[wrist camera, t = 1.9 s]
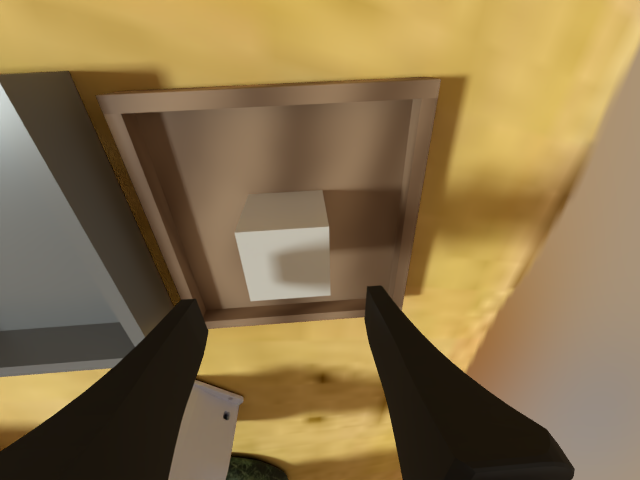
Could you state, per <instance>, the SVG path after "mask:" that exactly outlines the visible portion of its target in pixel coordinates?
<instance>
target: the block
mask: <svg viewBox="0 0 640 480" xmlns="http://www.w3.org/2000/svg"><path fill="white" fill-rule="evenodd" d="M235 237H236V241H237V246H238V250H239V254H240V258H241V262H242V267H243V271H244V275H245V279H246V284H247V288H248V292H249V296H250V301H261V300H275V299H288V298H302V297H316V296H329V295H331V291H330V247H329V224H328V218H327V213H326V207H325V202H324V196H323V191H322V190H314V191H298V192H281V193H264V194H249V195H248V197H247V200H246V203H245V205H244V208H243V211H242V214H241V216H240V219H239V222H238V224H237V227H236V230H235Z"/></svg>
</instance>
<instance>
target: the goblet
mask: <svg viewBox="0 0 640 480" xmlns="http://www.w3.org/2000/svg"><path fill="white" fill-rule="evenodd" d="M226 480H288V478H287V475H286V474H285V473H284V472H283V471H281V470H280V469H278V468H276V467H274V466H272V465H270V464H267V463H264V462H261V461H258V460H252V459H246V458H239V457H230V463H229V468H228V473H227V476H226Z"/></svg>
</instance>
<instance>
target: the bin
mask: <svg viewBox="0 0 640 480" xmlns="http://www.w3.org/2000/svg"><path fill="white" fill-rule="evenodd" d="M173 308H174V306H173V304H172V302H171V299H170V297H169V295H168V293H167V290H166V288H165V286H164V284H163V281H162V279H161V277H160V275H159V272H158V270H157V268H156V266H155V264H154V261H153V259H152V257H151V255H150V252H149V250H148V248H147V246H146V243H145V241H144V239H143V237H142V234H141V232H140V230H139V228H138V225H137V223H136V221H135V219H134V217H133V214H132V212H131V210H130V208H129V205H128V203H127V201H126V199H125V196H124V194H123V192H122V190H121V187H120V185H119V183H118V181H117V178H116V176H115V174H114V172H113V169H112V167H111V165H110V163H109V161H108V158H107V156H106V154H105V152H104V149H103V147H102V145H101V143H100V140H99V138H98V136H97V134H96V131H95V129H94V127H93V125H92V122H91V120H90V118H89V116H88V114H87V111H86V109H85V107H84V105H83V102H82V100H81V98H80V96H79V93H78V91H77V89H76V87H75V84H74V82H73V80H72V78H71V75H70V73H69V71H59V72H36V73H14V74H0V377H6V376H18V375H31V374H43V373H56V372H68V371H81V370H93V369H106V368H113V367H114V366H116V365H117V364H118V363H119V362H120V361H121V360H122V359H123V358H124V357H125V356H126V355H127V354H128V353H129V352H130V351H131V350H132V349H134V348H135V347H136V346H137V345H138V344H139V343H140V342H141V341H142V340H143V339H144V338H145V337H146V336H147V335H148V334H149V333H150V332H151V331H152V330H153V329H154V328H155V327H156V325H157V324H158V323H159V322H160V321H161V320H162V319H163V318H164V317H165V316H166V315H167V314H168V313H169V312H170V311H171V310H172V309H173Z"/></svg>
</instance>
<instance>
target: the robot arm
mask: <svg viewBox="0 0 640 480" xmlns="http://www.w3.org/2000/svg"><path fill="white" fill-rule="evenodd" d="M365 325H366V330H367V335H368V340H369V344H370V348H371V351H372V354H373V357H374V361H375V364H376V367H377V370H378V374H379V377H380V380H381V383H382V387H383V390H384V393H385V397H386V401H387V404H388V409H389V413H390V418H391V423H392V427H393V432H394V437H395V442H396V447H397V452H398V457H399V462H400V467H401V473H402V478H403V480H571V479H572V478H573V476H574V467H573V466H572V464H571V463H570V462H569V460H568V458H567V457H566V455H565V454H564V452H563V451H562V449H561V448H560V446H559V445H558V443H557V442H556V441H555V440H554V438H553V437H552V436H551V434H550V433H549V432H548V430H547V429H545V428H543V427H542V426H541V425H539V424H537V423H536V422H534V421H533V420H531V419H529V418H528V417H526V416H525V415H523V414H521V413H520V412H518V411H516V410H515V409H514V408H512V407H510V406H509V405H507V404H506V403H505V402H503V401H502V400H500V399H499V398H497V397H496V396H495V395H493V394H492V393H490V392H489V391H488V390H486V389H485V388H484V387H482V386H481V385H480V384H478V383H477V382H476V381H475V380H473V379H472V378H471V377H469V376H468V375H467V374H465V373H464V372H463V371H462V370H461V369H459V368H458V367H457V366H456V365H455V364H453V363H452V362H451V361H450V360H449V359H448V358H447V357H445V356H444V355H443V354H442V353H441V352H440V351H439V350H438V349H437V348H436V347H435V346H434V345H433V344H432V343H431V342H430V341H429V340H428V339H427V338H426V337H425V336H424V335H423V334H422V333H421V332H420V331H419V330H418V329H417V328H416V327H415V326H414V325H413V323H412V322H411V321H410V320H409V319H408V318H407V317H406V315H405V314H404V313H403V312H402V311H401V310H400V308H399V307H398V306H397V305H396V303H395V302H394V301H393V300H392V298H391V297H390V296H389V294H388V293H387V292H386V290H385V289H384V287H382V286H381V285H379V286H367V292H366V306H365ZM207 336H208V329H207V326H206V324H205V321H204V318H203V316H202V313H201V310H200V308H199V305H198V303H197V300H196V299H182V300H180V301H179V302H178V303H177V304H176V305H175V306H174V308H173V309H172V310H171V311H170V312H169V313H168V314H167V315H166V316H165V317H164V318H163V319H162V320H161V321H160V322H159V323H158V324H157V325H156V327H155V328H154V329H153V330H152V331H151V332H150V333H149V334H148V335H147V336H146V337H145V338H144V339H143V340H142V341H141V342H140V343H139V344H138V345H137V346H136V347H135V348H134V349H132V350H131V351H130V352H129V353H128V354H127V355H126V356H125V357H124V358H123V359H122V360H121V361H120V362H119V363H118V364H117V365H116V366H114V367H113V368H112V369H111V370H110V371H109V372H108V373H106V374H105V375H104V376H103V377H102V378H101V379H99V380H98V381H97V382H96V383H95V384H93V385H92V386H91V387H90V388H89V389H87V390H86V391H85V392H84V393H82V394H81V395H80V396H78V397H77V398H76V399H74V400H73V401H72V402H70V403H69V404H68V405H66V406H65V407H64V408H62V409H61V410H60V411H59V412H57V413H56V414H55V415H53V416H52V417H50V418H49V419H48V420H46V421H45V422H43V423H42V424H41V425H39V426H38V427H36V428H35V429H33V430H32V431H31V432H29V433H28V434H26V435H25V436H23V437H22V438H20V439H19V440H17V441H16V442H14V443H13V444H11V445H10V446H8V447H7V448H5V449H4V450H2V451H0V480H226V476H227V473H228V468H229V463H230V457H231V451H232V445H233V439H234V434H235V428H236V422H237V416H238V410H239V405H240V404H241V403H243V400H244V398H243V397H242V396H240V395H237V394H234V393H232V392H229V391H226V390H223V389H220V388H217V387H215V386H212V385H209V384H206V383H203V382H200V381H198V380H195V379H196V376H197V373H198V370H199V367H200V364H201V361H202V358H203V355H204V351H205V346H206V341H207Z"/></svg>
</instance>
